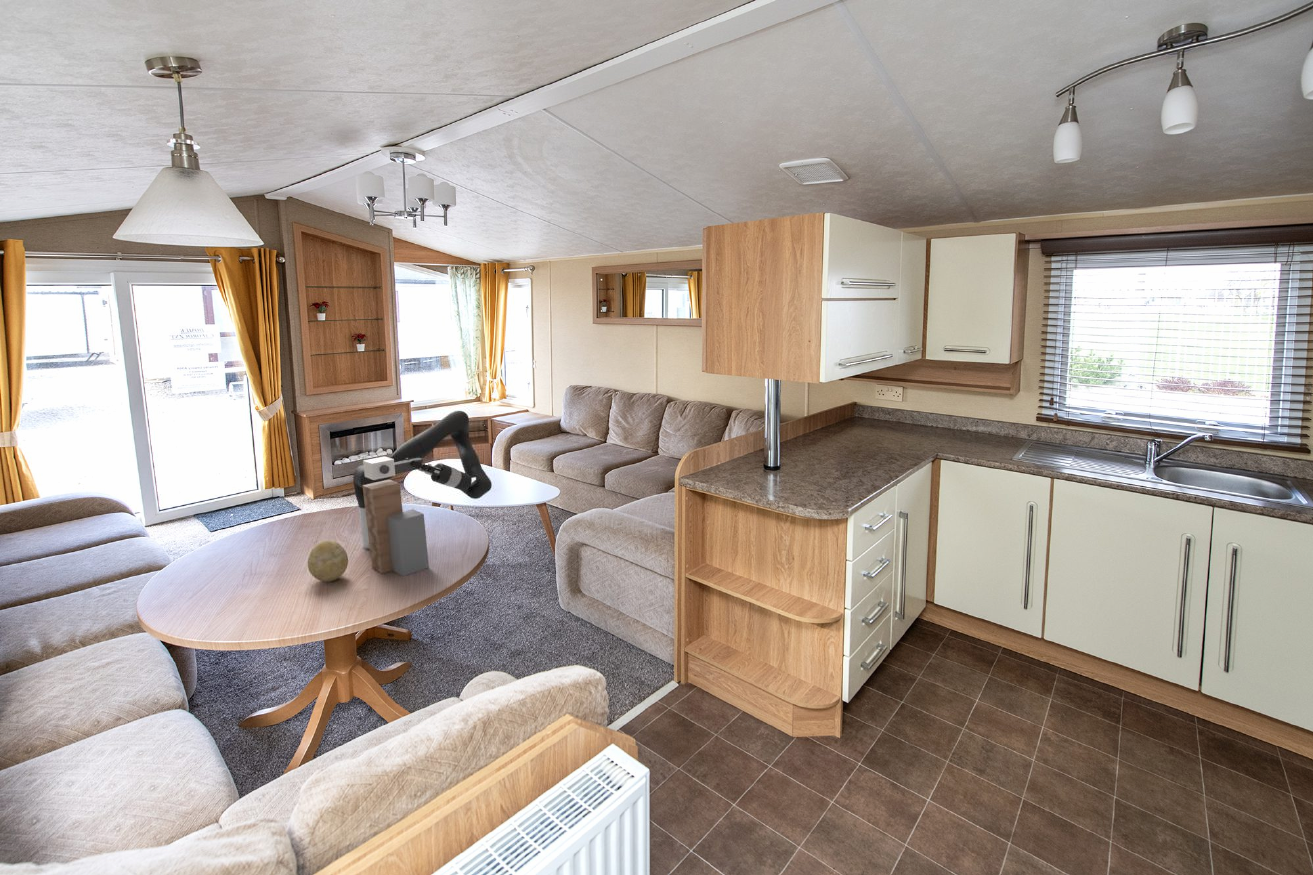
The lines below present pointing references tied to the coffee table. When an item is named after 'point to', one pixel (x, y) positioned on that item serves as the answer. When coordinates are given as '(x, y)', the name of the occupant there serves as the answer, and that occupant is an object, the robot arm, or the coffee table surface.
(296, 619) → the coffee table surface
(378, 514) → the walnut post
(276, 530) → the coffee table surface
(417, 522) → the grey rectangular block
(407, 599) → the coffee table surface
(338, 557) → the fossilized egg
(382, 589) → the coffee table surface
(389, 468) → the action camera
